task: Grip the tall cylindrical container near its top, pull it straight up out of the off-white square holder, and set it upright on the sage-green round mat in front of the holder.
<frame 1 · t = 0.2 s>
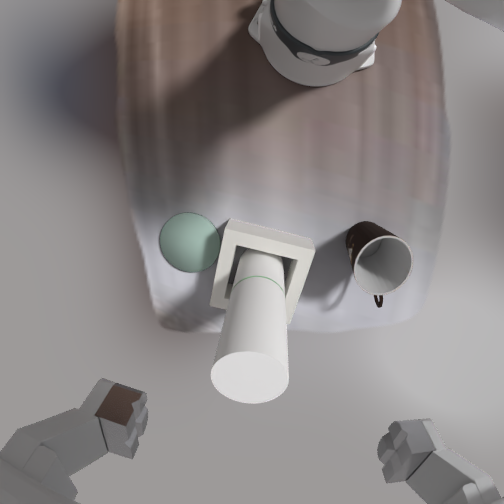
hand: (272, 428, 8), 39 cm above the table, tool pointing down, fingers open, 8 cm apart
cylindrical container: (261, 265, 49), resting in holder
holder: (261, 265, 49), on the table
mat: (190, 242, 48), on the table
coffee mug: (361, 248, 47), on the table
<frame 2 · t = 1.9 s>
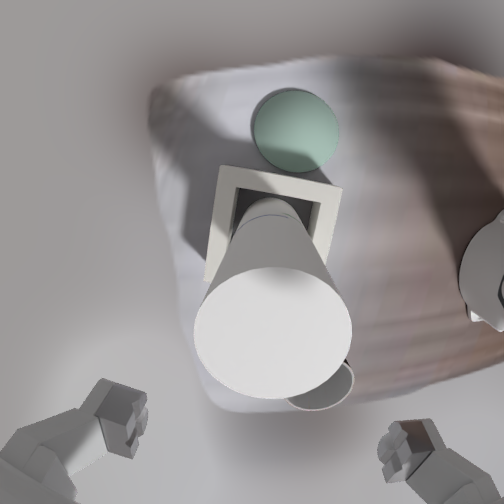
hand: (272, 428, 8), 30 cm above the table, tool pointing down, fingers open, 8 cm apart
cylindrical container: (270, 226, 37), resting in holder
holder: (270, 226, 37), on the table
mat: (296, 131, 33), on the table
coffee mug: (299, 338, 41), on the table
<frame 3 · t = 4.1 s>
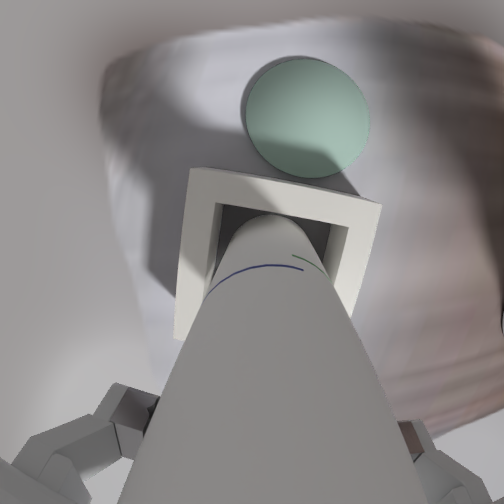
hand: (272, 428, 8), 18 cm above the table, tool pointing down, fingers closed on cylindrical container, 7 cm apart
cylindrical container: (270, 255, 26), resting in holder, touching gripper
holder: (270, 256, 26), on the table
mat: (308, 117, 22), on the table
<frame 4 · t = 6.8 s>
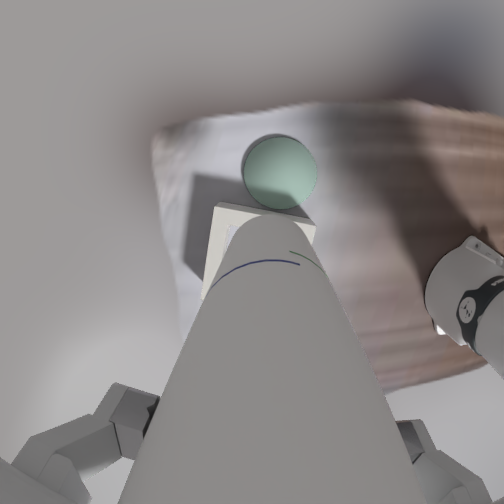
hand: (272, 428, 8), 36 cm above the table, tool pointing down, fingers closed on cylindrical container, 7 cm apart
cylindrical container: (269, 254, 27), point 17 cm above the table, touching gripper
holder: (257, 253, 44), on the table
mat: (280, 173, 41), on the table
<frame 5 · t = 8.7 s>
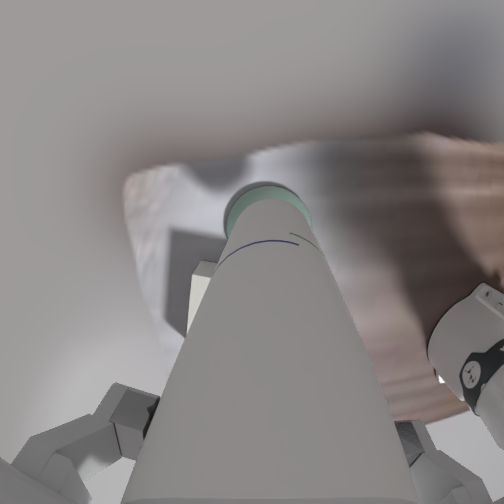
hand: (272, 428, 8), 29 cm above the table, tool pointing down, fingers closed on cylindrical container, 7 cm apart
cylindrical container: (272, 236, 28), point 8 cm above the table, touching gripper
holder: (244, 315, 39), on the table
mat: (269, 228, 36), on the table
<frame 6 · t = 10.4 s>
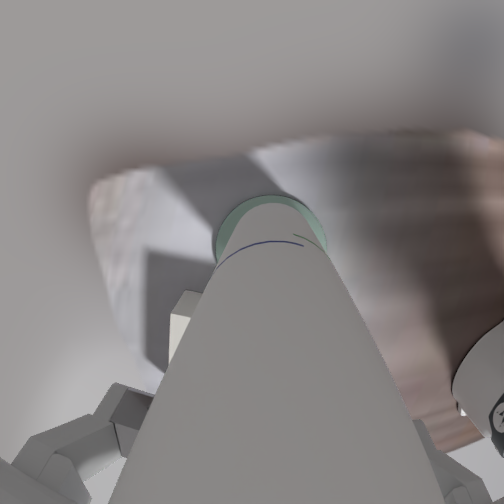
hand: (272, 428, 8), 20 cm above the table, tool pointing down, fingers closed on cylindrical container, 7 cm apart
cylindrical container: (273, 242, 27), resting on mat, touching gripper
holder: (240, 355, 31), on the table
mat: (271, 250, 28), on the table
when the fingers open (20 cm above the table, at t = 11.3 s): cylindrical container stays where it is, resting on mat.
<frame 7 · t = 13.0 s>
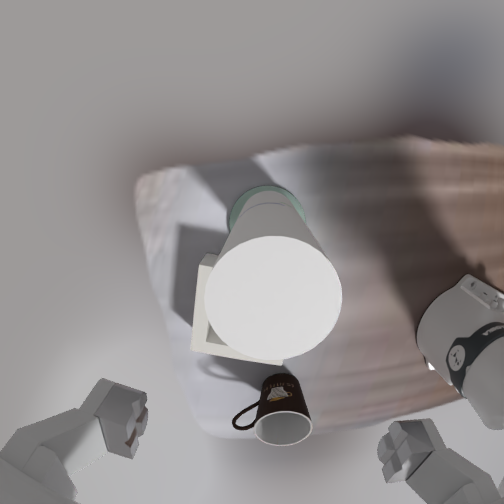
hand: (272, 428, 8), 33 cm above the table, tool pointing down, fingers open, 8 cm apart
cylindrical container: (268, 217, 39), resting on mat
holder: (245, 303, 43), on the table
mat: (267, 223, 40), on the table
coffee mug: (272, 385, 48), on the table
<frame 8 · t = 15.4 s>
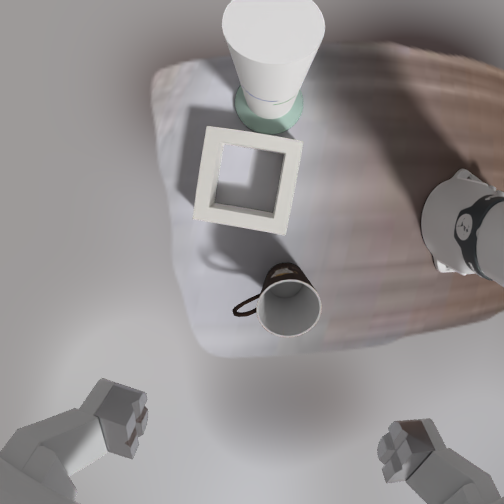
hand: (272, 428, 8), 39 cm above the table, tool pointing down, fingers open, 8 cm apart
cylindrical container: (270, 96, 40), resting on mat
holder: (248, 178, 44), on the table
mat: (269, 102, 41), on the table
coffee mug: (276, 279, 49), on the table
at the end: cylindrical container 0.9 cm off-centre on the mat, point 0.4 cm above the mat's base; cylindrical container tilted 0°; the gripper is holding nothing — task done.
